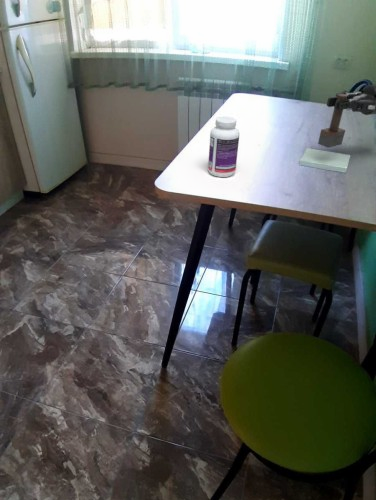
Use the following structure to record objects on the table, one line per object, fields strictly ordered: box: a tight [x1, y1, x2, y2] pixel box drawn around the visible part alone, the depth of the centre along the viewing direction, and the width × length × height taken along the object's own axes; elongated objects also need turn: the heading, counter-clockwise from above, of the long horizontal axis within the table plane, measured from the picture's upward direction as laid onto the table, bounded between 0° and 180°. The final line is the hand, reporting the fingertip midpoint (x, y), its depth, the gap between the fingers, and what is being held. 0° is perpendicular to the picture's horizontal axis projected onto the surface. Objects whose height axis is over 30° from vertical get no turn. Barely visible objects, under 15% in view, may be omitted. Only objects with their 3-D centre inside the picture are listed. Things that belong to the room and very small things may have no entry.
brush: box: [317, 94, 347, 149], centre depth 118 cm, size 6×4×13 cm, turn 124°
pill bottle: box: [207, 116, 240, 178], centre depth 115 cm, size 8×8×14 cm
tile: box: [299, 147, 351, 174], centre depth 129 cm, size 14×12×2 cm
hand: (332, 103), depth 114 cm, fingers closed on brush, 2 cm apart
